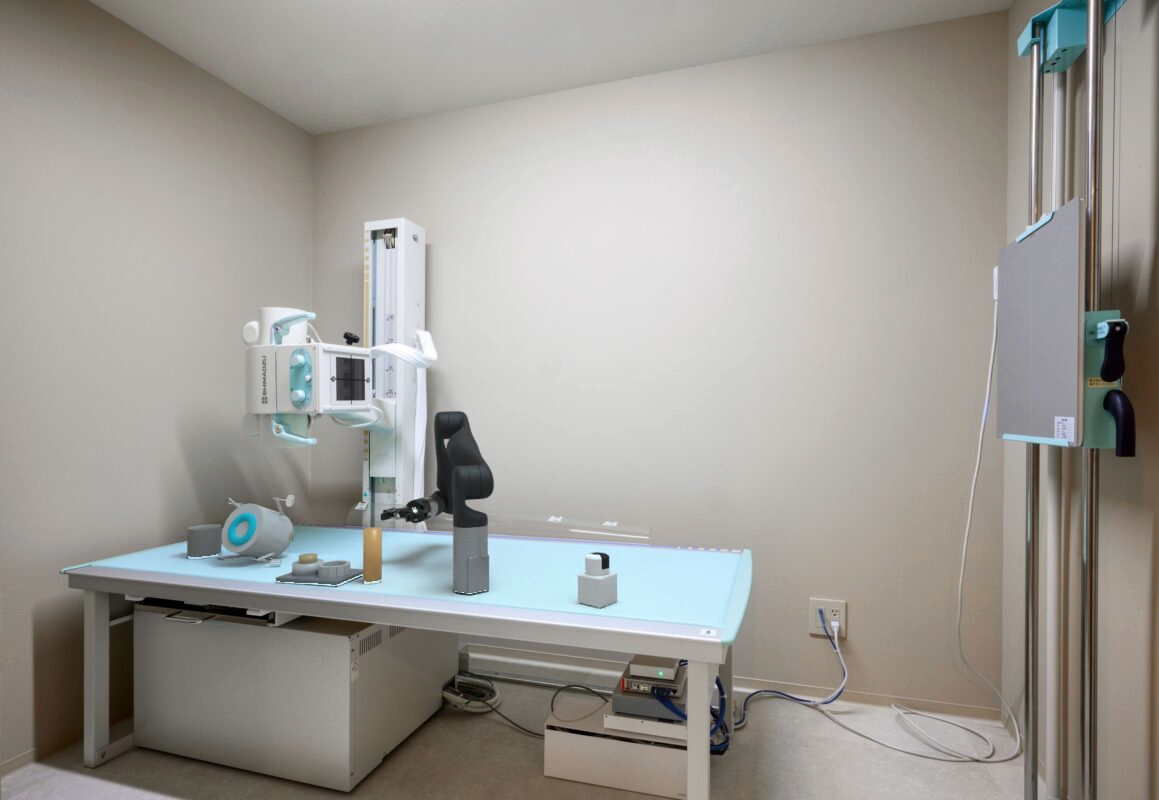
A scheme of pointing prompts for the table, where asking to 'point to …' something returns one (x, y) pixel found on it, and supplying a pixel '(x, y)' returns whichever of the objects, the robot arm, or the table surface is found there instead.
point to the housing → (319, 571)
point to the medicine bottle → (597, 581)
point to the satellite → (257, 531)
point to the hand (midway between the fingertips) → (394, 517)
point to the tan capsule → (372, 554)
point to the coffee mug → (204, 540)
